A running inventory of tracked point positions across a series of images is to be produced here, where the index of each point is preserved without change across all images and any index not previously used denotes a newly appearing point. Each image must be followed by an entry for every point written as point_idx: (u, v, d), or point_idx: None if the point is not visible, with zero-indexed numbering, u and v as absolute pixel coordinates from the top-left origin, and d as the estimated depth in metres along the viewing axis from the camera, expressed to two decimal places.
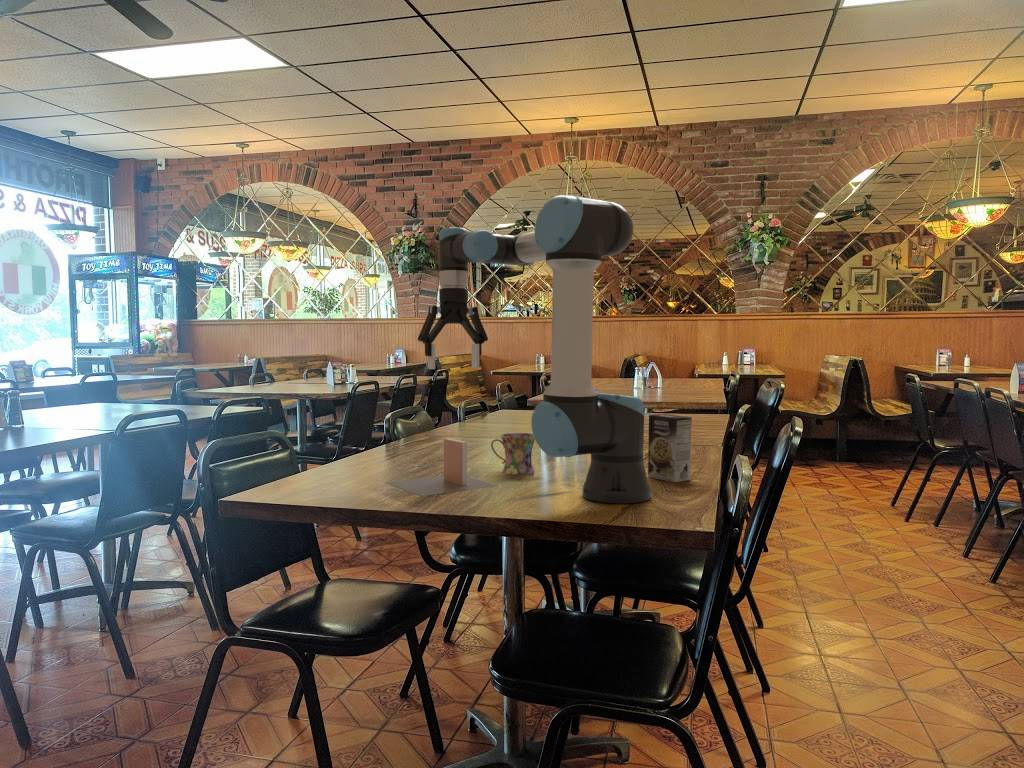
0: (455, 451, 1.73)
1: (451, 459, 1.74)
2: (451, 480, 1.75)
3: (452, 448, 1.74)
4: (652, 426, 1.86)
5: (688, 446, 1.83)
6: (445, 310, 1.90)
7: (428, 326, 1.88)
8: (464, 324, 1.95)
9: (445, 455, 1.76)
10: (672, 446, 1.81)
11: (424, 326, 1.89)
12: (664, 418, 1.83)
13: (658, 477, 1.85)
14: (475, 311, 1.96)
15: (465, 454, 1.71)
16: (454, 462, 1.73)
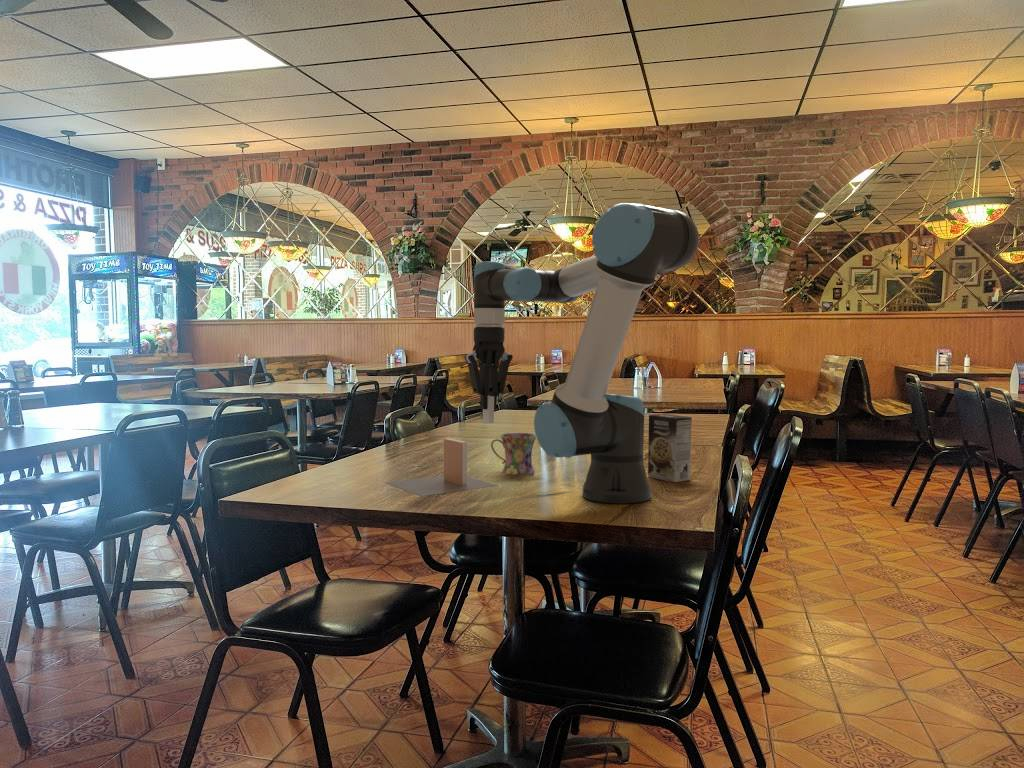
0: (455, 451, 1.73)
1: (451, 459, 1.74)
2: (451, 480, 1.75)
3: (452, 448, 1.74)
4: (652, 426, 1.86)
5: (688, 446, 1.83)
6: (481, 351, 1.76)
7: (476, 378, 1.76)
8: (492, 366, 1.79)
9: (445, 455, 1.76)
10: (672, 446, 1.81)
11: (472, 378, 1.77)
12: (664, 418, 1.83)
13: (658, 477, 1.85)
14: (509, 358, 1.81)
15: (465, 454, 1.71)
16: (454, 462, 1.73)
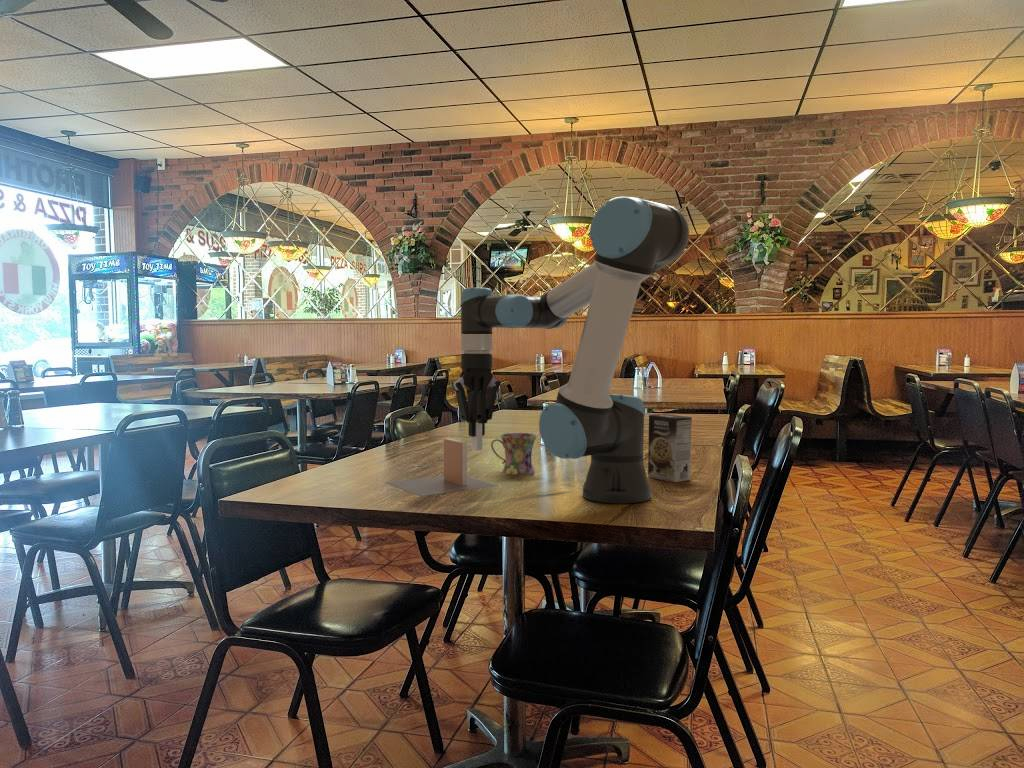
0: (455, 451, 1.73)
1: (451, 459, 1.74)
2: (451, 480, 1.75)
3: (452, 448, 1.74)
4: (652, 426, 1.86)
5: (688, 446, 1.83)
6: (468, 378, 1.74)
7: (464, 405, 1.74)
8: (480, 393, 1.77)
9: (445, 455, 1.76)
10: (672, 446, 1.81)
11: (460, 406, 1.75)
12: (664, 418, 1.83)
13: (658, 477, 1.85)
14: (497, 385, 1.79)
15: (465, 454, 1.71)
16: (454, 462, 1.73)
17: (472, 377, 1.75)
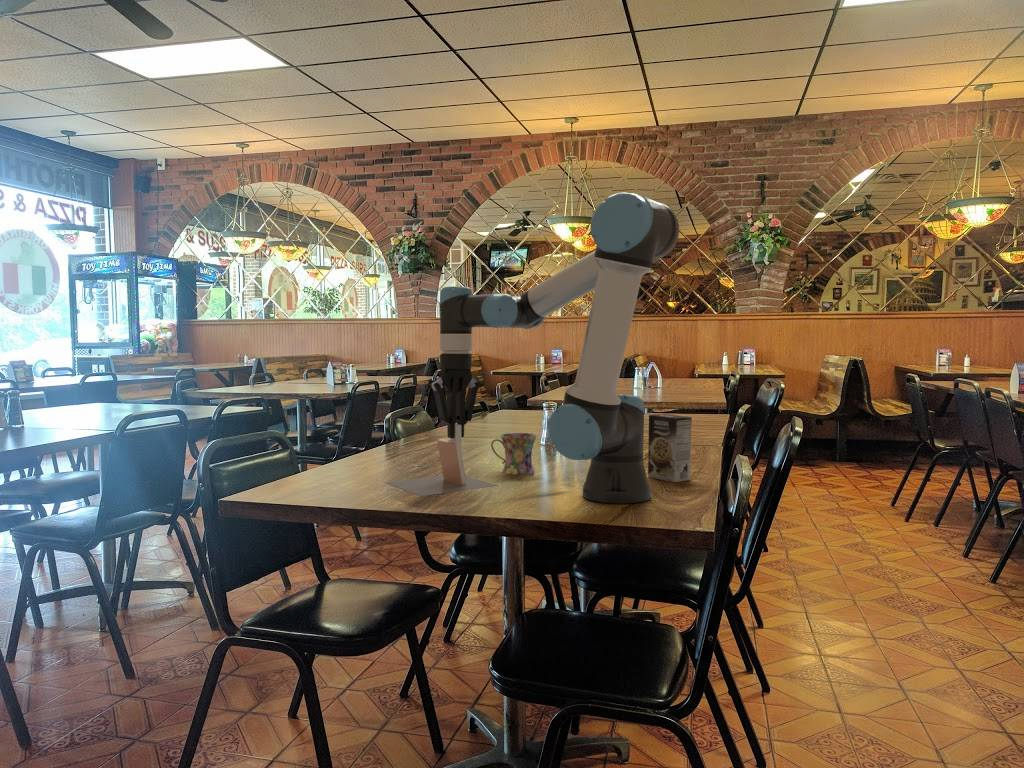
0: (450, 452, 1.72)
1: (447, 460, 1.74)
2: (451, 480, 1.74)
3: (446, 449, 1.73)
4: (652, 426, 1.86)
5: (688, 446, 1.83)
6: (447, 378, 1.71)
7: (443, 406, 1.70)
8: (459, 394, 1.74)
9: (441, 456, 1.76)
10: (672, 446, 1.81)
11: (438, 407, 1.71)
12: (664, 418, 1.83)
13: (658, 477, 1.85)
14: (477, 385, 1.76)
15: (460, 454, 1.70)
16: (451, 463, 1.73)
17: (451, 377, 1.71)
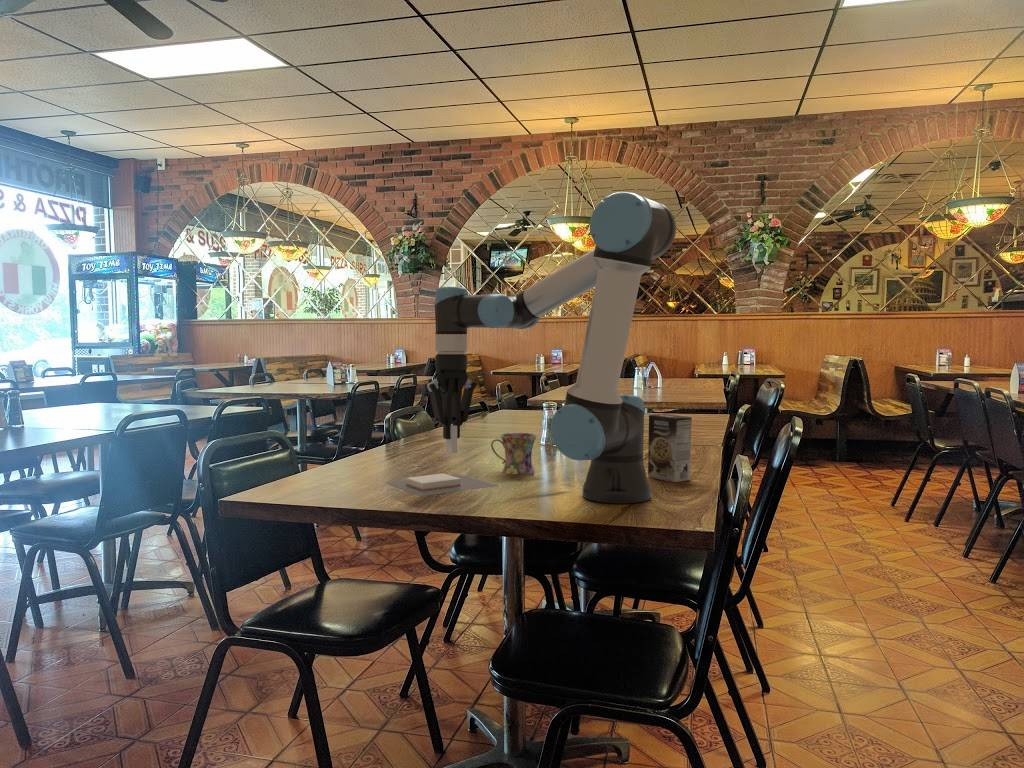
0: None
1: None
2: None
3: None
4: (652, 426, 1.86)
5: (688, 446, 1.83)
6: (442, 379, 1.70)
7: (438, 407, 1.70)
8: (455, 395, 1.73)
9: None
10: (672, 446, 1.81)
11: (434, 407, 1.71)
12: (664, 418, 1.83)
13: (658, 477, 1.85)
14: (472, 386, 1.75)
15: (433, 483, 1.67)
16: None
17: (446, 378, 1.70)
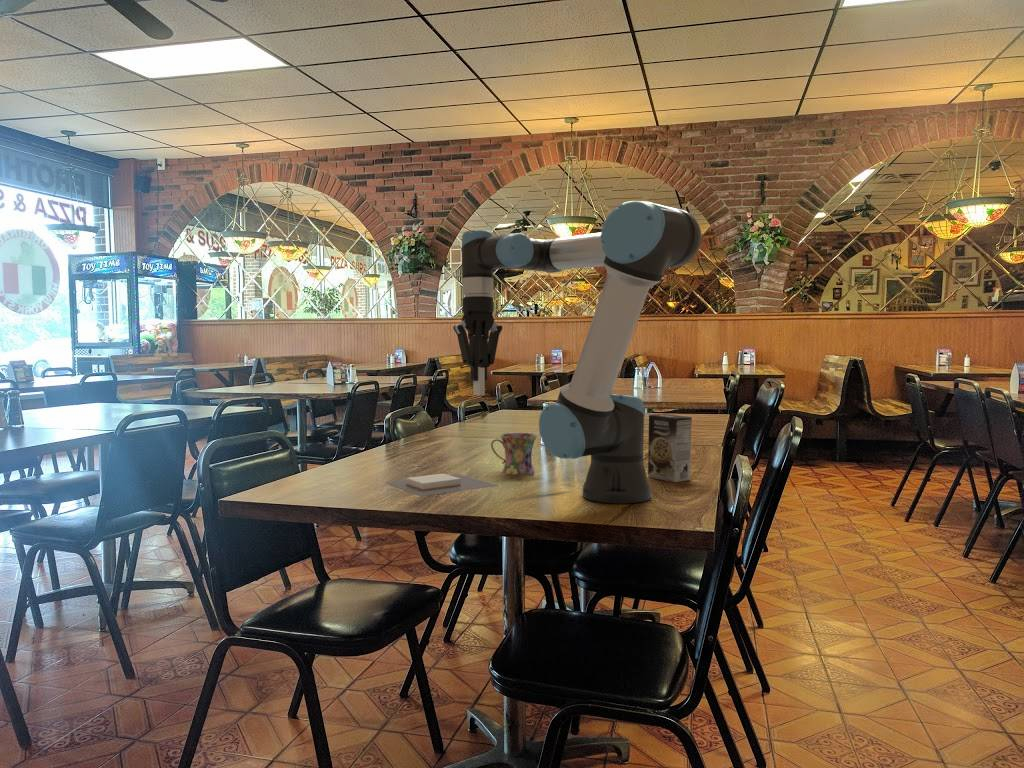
0: None
1: None
2: None
3: None
4: (652, 426, 1.86)
5: (688, 446, 1.83)
6: (470, 321, 1.73)
7: (466, 348, 1.73)
8: (481, 337, 1.76)
9: None
10: (672, 446, 1.81)
11: (462, 349, 1.74)
12: (664, 418, 1.83)
13: (658, 477, 1.85)
14: (498, 329, 1.78)
15: (433, 483, 1.67)
16: None
17: (474, 320, 1.74)
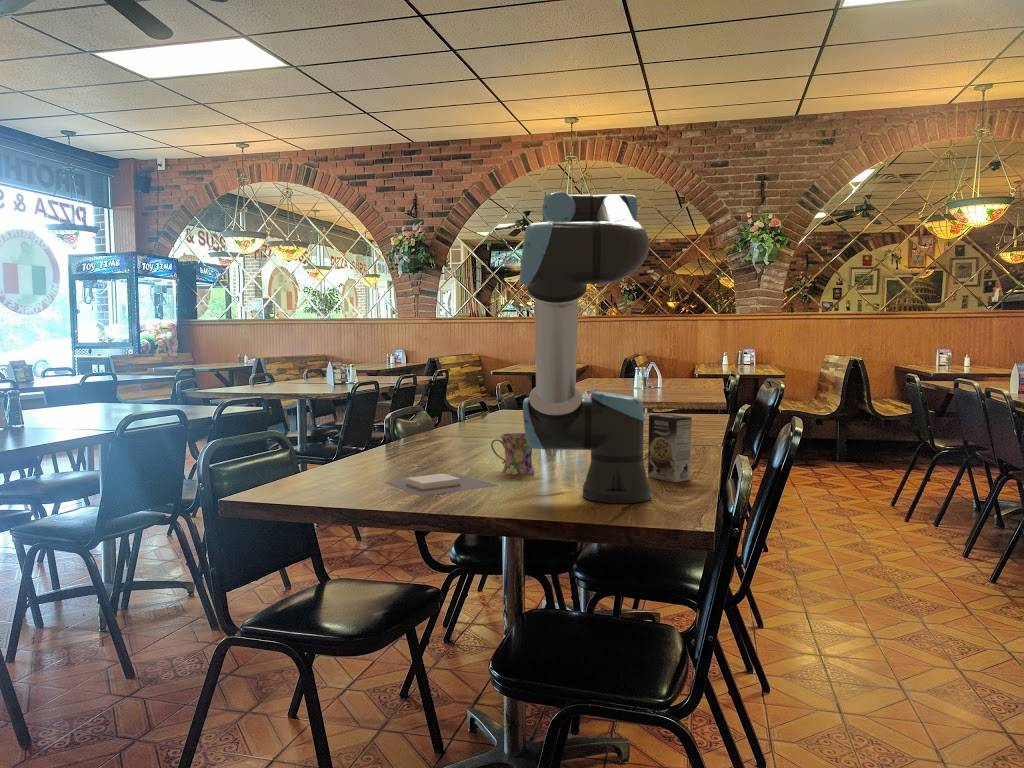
0: None
1: None
2: None
3: None
4: (652, 426, 1.86)
5: (688, 446, 1.83)
6: None
7: None
8: None
9: None
10: (672, 446, 1.81)
11: None
12: (664, 418, 1.83)
13: (658, 477, 1.85)
14: None
15: (433, 483, 1.67)
16: None
17: None
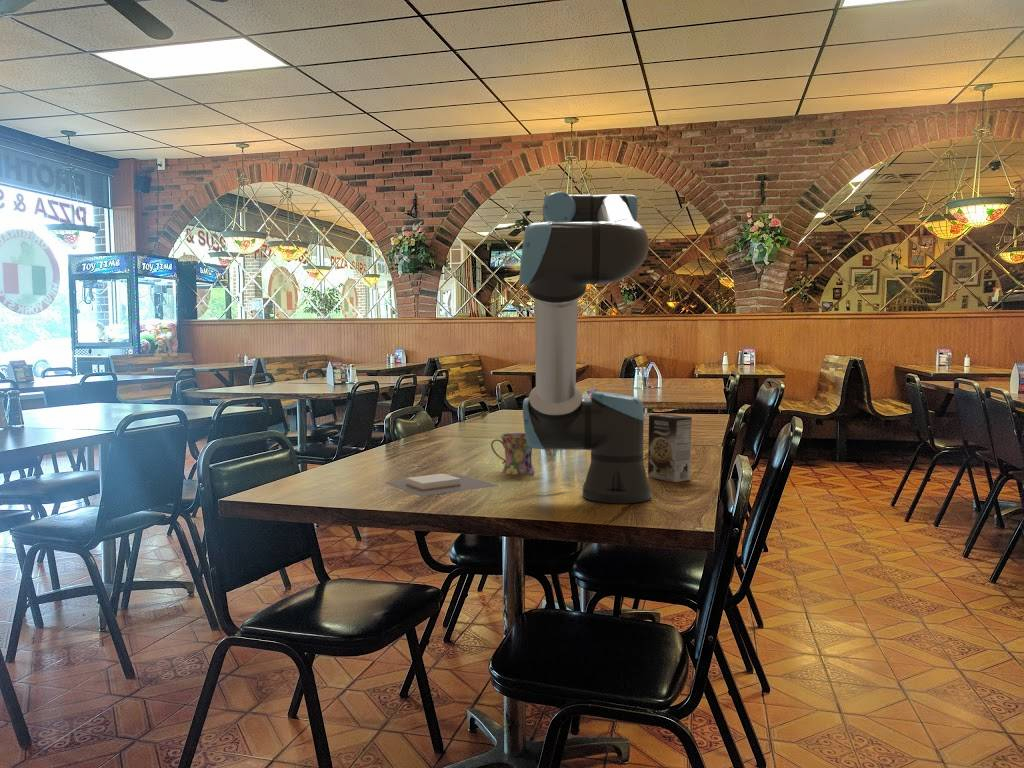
0: None
1: None
2: None
3: None
4: (652, 426, 1.86)
5: (688, 446, 1.83)
6: None
7: None
8: None
9: None
10: (672, 446, 1.81)
11: None
12: (664, 418, 1.83)
13: (658, 477, 1.85)
14: None
15: (433, 483, 1.67)
16: None
17: None
